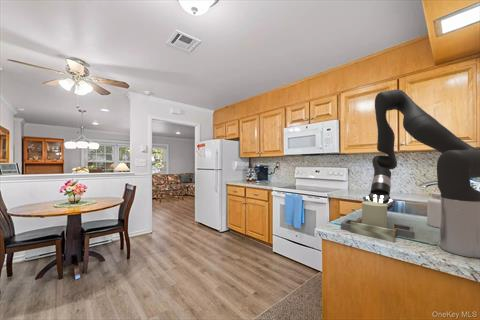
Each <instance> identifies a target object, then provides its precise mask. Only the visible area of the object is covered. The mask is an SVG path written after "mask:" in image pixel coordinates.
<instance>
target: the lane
mask: <svg viewBox="0 0 480 320" xmlns="http://www.w3.org/2000/svg"><path fill="white" fill-rule="evenodd" d="M355 220H356V221H355V222H351V224H350V231H349V232H350V233H352V234H357V235H362V236H366V237H371V238H375V239H380V240H385V241H389V242H393V243H394V242H395V240H396V236H397V235H396V228H397V226H398V224H399V223H394V224H393V227H392V228H388V227H387V228H382V227H377V226H371V225H366V224H362V217H358V218H357V219H355Z"/></svg>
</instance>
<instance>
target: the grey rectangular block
mask: <svg viewBox="0 0 480 320" xmlns="http://www.w3.org/2000/svg"><path fill="white" fill-rule="evenodd" d="M387 204H388V203H386V204H384V203H380V202H371V200H369V201H364V200H363V201H361V218H362V224H366V225H371V226H377V227H382V228H387V229H388V210H387V206H388V205H387Z"/></svg>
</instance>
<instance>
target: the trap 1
mask: <svg viewBox="0 0 480 320" xmlns="http://www.w3.org/2000/svg"><path fill="white" fill-rule="evenodd" d="M356 220H357V219H355V220H354V219H351V218H350V219H349V218H345V219H344V220H343V221H342V222H340V230H344V231H348V232H350V224H351V222H355V221H356Z"/></svg>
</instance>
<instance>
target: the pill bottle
mask: <svg viewBox="0 0 480 320" xmlns="http://www.w3.org/2000/svg"><path fill="white" fill-rule="evenodd" d="M440 209H441V193H440V192H431V198H428V199H427V208H426V210H427V213H426V225H428V226H431V227H435V228H437V229H440Z"/></svg>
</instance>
